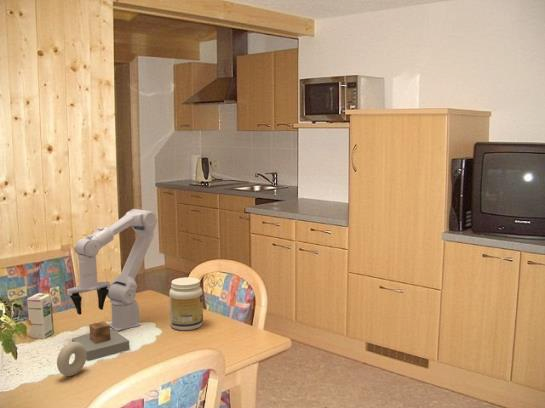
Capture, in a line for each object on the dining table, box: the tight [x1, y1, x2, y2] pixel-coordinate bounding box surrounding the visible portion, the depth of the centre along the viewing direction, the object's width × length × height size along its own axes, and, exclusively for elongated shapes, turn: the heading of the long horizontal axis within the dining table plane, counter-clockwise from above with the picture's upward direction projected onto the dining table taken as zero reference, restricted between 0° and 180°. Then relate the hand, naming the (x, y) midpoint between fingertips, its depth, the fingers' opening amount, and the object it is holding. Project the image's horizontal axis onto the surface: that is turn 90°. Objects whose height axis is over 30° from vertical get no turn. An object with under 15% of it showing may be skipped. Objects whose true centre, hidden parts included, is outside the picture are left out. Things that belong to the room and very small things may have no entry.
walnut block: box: [88, 321, 111, 343], centre depth 183 cm, size 5×5×5 cm
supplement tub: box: [168, 276, 204, 331], centre depth 203 cm, size 12×12×17 cm
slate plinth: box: [71, 328, 131, 362], centre depth 183 cm, size 14×14×3 cm
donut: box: [56, 341, 87, 377], centre depth 163 cm, size 10×3×10 cm, turn 152°
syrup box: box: [26, 292, 55, 340], centre depth 194 cm, size 6×6×14 cm
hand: (90, 311), depth 192 cm, fingers open, 7 cm apart
